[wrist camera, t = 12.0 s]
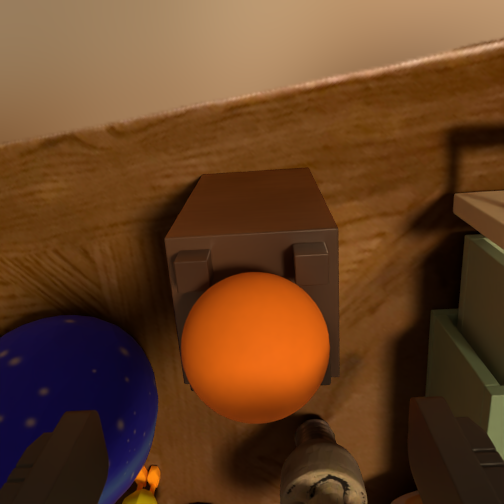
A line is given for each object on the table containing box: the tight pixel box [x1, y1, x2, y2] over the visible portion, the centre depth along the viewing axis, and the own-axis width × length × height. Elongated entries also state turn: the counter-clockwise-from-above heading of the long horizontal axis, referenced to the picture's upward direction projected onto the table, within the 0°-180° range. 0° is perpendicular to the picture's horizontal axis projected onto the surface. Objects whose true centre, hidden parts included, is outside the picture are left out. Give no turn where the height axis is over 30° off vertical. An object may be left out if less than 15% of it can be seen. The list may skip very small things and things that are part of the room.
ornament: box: [0, 315, 158, 504], centre depth 26 cm, size 11×9×15 cm
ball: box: [181, 272, 330, 424], centre depth 16 cm, size 5×5×5 cm
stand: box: [164, 168, 339, 391], centre depth 24 cm, size 6×6×13 cm
